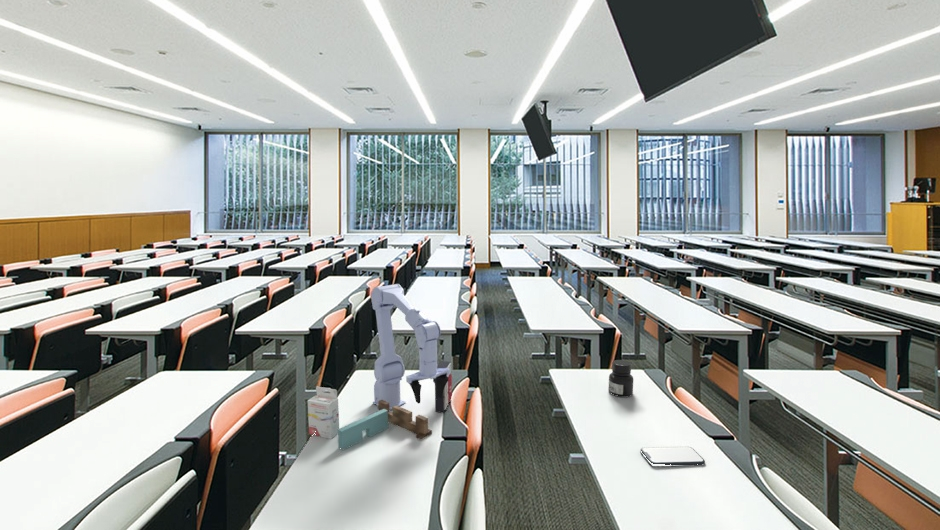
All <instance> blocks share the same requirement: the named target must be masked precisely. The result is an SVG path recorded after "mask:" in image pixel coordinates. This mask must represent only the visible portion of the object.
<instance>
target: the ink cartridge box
mask: <svg viewBox="0 0 940 530" xmlns="http://www.w3.org/2000/svg"><path fill="white" fill-rule="evenodd" d="M315 391H316V395H314V396H313V397H311V398H309V399H308V400H307V418H308V434H309V435H310V436H314V435H315V434H316V436H315V437H319V436H320V438H324V439H329V440H332V439H333V438H335V436H337V435H338V429H340V414H339V412H340V411H339V410H340V409H339V398H338V390H337V389H335V388H329V387H324V386H323V387H322V386H318V385H317V386H315ZM326 391H327V392H326ZM315 431H316V432H315ZM314 433H315V434H314ZM313 434H314V435H313Z"/></svg>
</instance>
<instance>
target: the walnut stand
mask: <svg viewBox="0 0 940 530" xmlns="http://www.w3.org/2000/svg"><path fill="white" fill-rule="evenodd" d="M377 407H378V410H377V412H378V411H380V410H382V409H385V410H388V424H392V425H395V426H397V427H399V428H401V429H403V430H406V431H408V432H411V433H412V434H415V435H416V436H415V437H416V439H417V440H420V441H422V440H423V439H425V438H427V437H429V436H431V435H432V434H433V430H432V429H430V428H429V418H428V417H426V416H424V415H421V414H418V415H416V416H415V421H414V420H413V411H412V410H409V409H406V408H403V407H401V406H396V405H395V406H393V407H392V411H391V410H390V407H389V402H386V401H384V400H380V401H378V405H377Z"/></svg>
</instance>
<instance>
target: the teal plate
mask: <svg viewBox="0 0 940 530" xmlns="http://www.w3.org/2000/svg"><path fill="white" fill-rule="evenodd" d="M387 429H389V422H388V410H385V409H382V410H380V411H378V410H377V411H376V412H373V413H372V414H369V415H366V416H365V417H363V418H359V419H358V420H356V421H354V422H351V423H349V424H347V425H344V426H342V427H339V429H338V434H337V439H338V440H337V442H338V449H340V448H341V449H344V450H346V449H348V448H350V447H352V446H354V445H356V444H359V443H360V442H362V441H364V434H363V433H364V431H365V435H366V436H368V437H369V438H370V437H373V436H375V435H376V434H379V433H380V432H382V431H385V430H387ZM353 444H354V445H353ZM351 445H352V446H351ZM349 446H350V447H349ZM347 447H348V448H347ZM345 448H346V449H345ZM341 449H340V450H341Z"/></svg>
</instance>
